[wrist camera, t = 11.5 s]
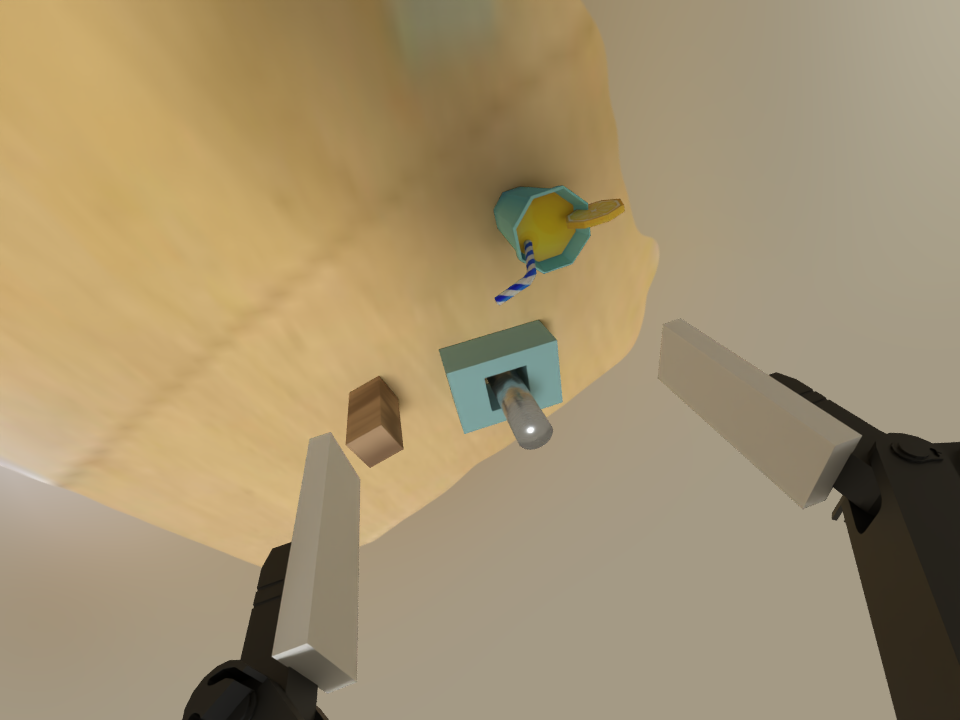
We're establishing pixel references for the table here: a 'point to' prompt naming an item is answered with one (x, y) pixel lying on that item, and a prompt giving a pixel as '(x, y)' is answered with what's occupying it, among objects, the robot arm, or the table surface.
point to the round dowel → (521, 410)
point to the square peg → (374, 422)
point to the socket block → (501, 371)
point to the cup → (547, 228)
